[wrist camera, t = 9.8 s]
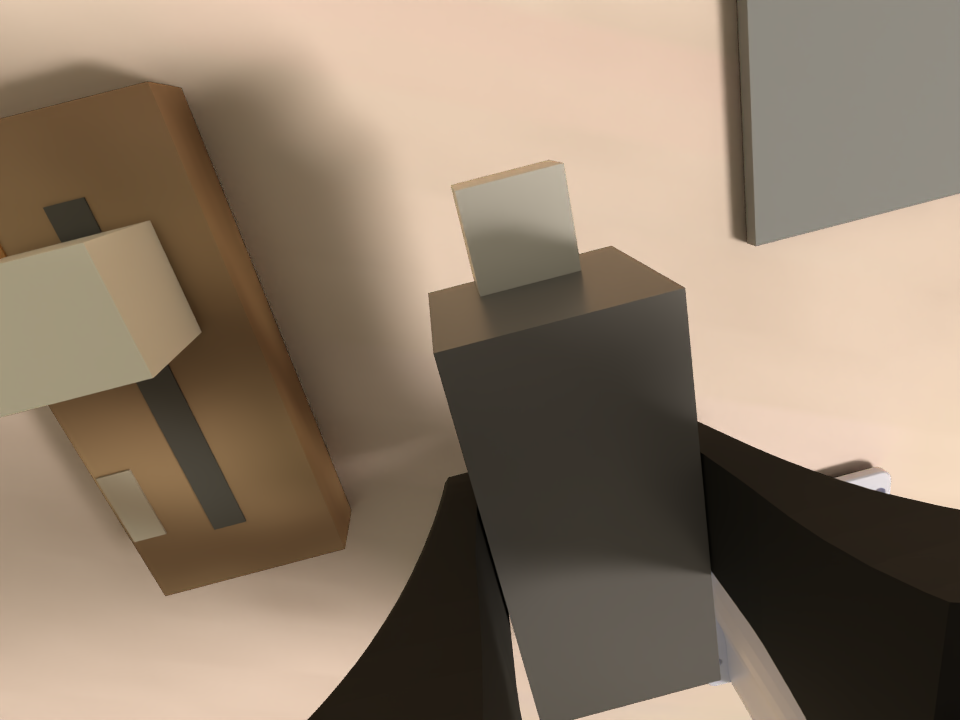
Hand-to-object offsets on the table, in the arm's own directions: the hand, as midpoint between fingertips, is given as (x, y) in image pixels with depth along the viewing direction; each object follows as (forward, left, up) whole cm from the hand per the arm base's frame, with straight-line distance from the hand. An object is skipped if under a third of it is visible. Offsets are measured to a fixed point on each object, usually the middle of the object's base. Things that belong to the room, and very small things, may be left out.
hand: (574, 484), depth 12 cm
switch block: (+3, +10, -7) cm, 13 cm away
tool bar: (+1, 0, -2) cm, 2 cm away
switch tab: (+6, +10, -5) cm, 13 cm away
